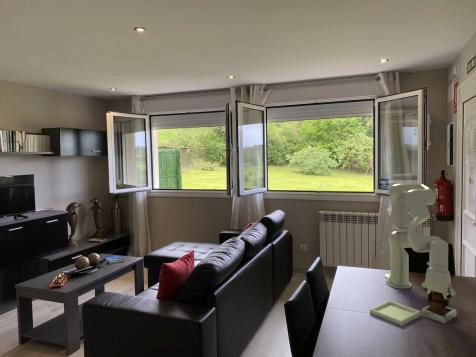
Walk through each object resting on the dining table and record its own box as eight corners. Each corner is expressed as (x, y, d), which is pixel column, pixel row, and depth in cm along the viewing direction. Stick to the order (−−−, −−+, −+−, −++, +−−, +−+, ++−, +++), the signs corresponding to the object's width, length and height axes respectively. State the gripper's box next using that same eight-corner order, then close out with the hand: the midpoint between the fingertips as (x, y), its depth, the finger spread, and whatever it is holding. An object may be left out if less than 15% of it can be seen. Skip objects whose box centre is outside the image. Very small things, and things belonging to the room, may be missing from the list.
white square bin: (421, 315, 171) (421, 309, 171) (433, 308, 178) (433, 302, 177) (444, 323, 163) (444, 317, 162) (456, 316, 169) (456, 310, 169)
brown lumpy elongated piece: (436, 319, 166) (437, 287, 165) (426, 314, 172) (427, 283, 171) (448, 317, 168) (448, 286, 167) (438, 312, 174) (438, 281, 173)
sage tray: (370, 313, 174) (370, 308, 174) (389, 305, 183) (389, 300, 183) (401, 326, 161) (401, 321, 161) (420, 316, 170) (420, 311, 170)
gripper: (416, 264, 173) (415, 300, 175) (454, 273, 159) (453, 313, 161) (424, 260, 178) (424, 296, 179) (462, 269, 163) (461, 308, 165)
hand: (438, 303), depth 170 cm, fingers closed on brown lumpy elongated piece, 6 cm apart
